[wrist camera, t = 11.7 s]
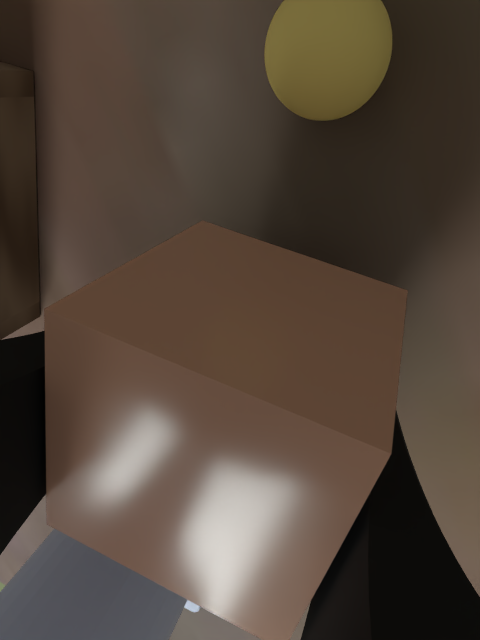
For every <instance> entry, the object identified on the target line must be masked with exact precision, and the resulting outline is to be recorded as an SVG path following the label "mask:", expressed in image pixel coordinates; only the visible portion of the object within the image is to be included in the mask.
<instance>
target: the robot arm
mask: <svg viewBox="0 0 480 640" xmlns="http://www.w3.org/2000/svg"><path fill="white" fill-rule="evenodd" d="M45 494H46V415H45V331H42V332H38V333H34V334H30V335H25V336H20V337H15V338H9V339H3V340H0V555H1V553H2V552H3V550H4V549H5V548H6V546H7V545H8V543H9V542H10V541H11V539H12V538H13V536H14V535H15V534H16V532H17V531H18V530H19V528H20V527H21V526H22V524H23V523H24V522H25V520H26V519H27V518H28V516H29V515H30V514H31V512H32V511H33V510H34V508H35V507H36V506H37V505H38V503H39V502H40V501H41V499H42V498H43V497H44V496H45ZM183 608H186V609H188V610H190V611H192V612H197V611H199V609H200V606H198V605H196V604H194V603H193V602H191V601H189V600H187V599H185V598H183V597H181V596H180V595H178V594H176V593H174V592H172V591H170V590H168V589H166V588H165V587H163V586H161V585H159V584H157V583H155V582H153V581H152V580H150V579H148V578H146V577H144V576H142V575H140V574H138V573H137V572H135V571H133V570H131V569H129V568H127V567H125V566H123V565H122V564H120V563H118V562H116V561H114V560H112V559H110V558H109V557H107V556H105V555H103V554H101V553H99V552H97V551H95V550H94V549H92V548H90V547H88V546H86V545H84V544H82V543H80V542H79V541H77V540H75V539H73V538H71V537H69V536H67V535H66V534H64V533H62V532H60V531H58V530H56V529H54V530H53V531H52V532H51V533H50V534H49V535H48V537H47V538H46V539H45V540H44V541H43V543H42V544H41V545H40V546H39V547H38V548H37V550H36V551H35V552H34V553H33V554H32V555H31V557H30V558H29V559H28V560H27V561H26V562H25V564H24V565H23V566H22V567H21V568H20V570H19V571H18V572H17V573H16V574H15V575H14V577H13V578H12V579H11V580H10V581H9V582H8V584H7V585H6V586H5V587H4V589H3V590H2V591H1V592H0V640H169V638H170V636H171V634H172V632H173V630H174V627H175V625H176V623H177V621H178V619H179V617H180V615H181V613H182V611H183ZM301 640H480V597H479V596H478V594H477V592H476V591H475V589H474V588H473V586H472V584H471V583H470V581H469V580H468V578H467V577H466V575H465V573H464V571H463V570H462V568H461V566H460V565H459V563H458V561H457V560H456V558H455V556H454V554H453V552H452V550H451V548H450V547H449V545H448V543H447V541H446V539H445V537H444V536H443V534H442V532H441V529H440V527H439V525H438V523H437V521H436V519H435V517H434V515H433V513H432V510H431V508H430V506H429V504H428V501H427V499H426V497H425V494H424V492H423V489H422V487H421V485H420V482H419V479H418V477H417V474H416V471H415V469H414V466H413V463H412V461H411V458H410V455H409V452H408V449H407V446H406V443H405V440H404V436H403V433H402V430H401V426H400V423H399V419H398V415H397V411H396V412H395V422H394V432H393V442H392V453H391V455H390V457H389V459H388V461H387V463H386V465H385V466H384V468H383V470H382V472H381V474H380V476H379V477H378V479H377V481H376V483H375V485H374V486H373V488H372V490H371V492H370V494H369V496H368V497H367V499H366V501H365V503H364V505H363V507H362V508H361V510H360V512H359V514H358V516H357V517H356V519H355V521H354V523H353V525H352V527H351V528H350V530H349V532H348V534H347V536H346V538H345V539H344V541H343V543H342V545H341V547H340V548H339V550H338V552H337V554H336V556H335V558H334V559H333V561H332V563H331V565H330V567H329V569H328V570H327V572H326V574H325V576H324V578H323V579H322V581H321V583H320V585H319V587H318V589H317V590H316V592H315V594H314V596H313V598H312V600H311V603H310V607H309V611H308V614H307V618H306V622H305V626H304V630H303V633H302V637H301Z"/></svg>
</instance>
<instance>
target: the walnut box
mask: <svg viewBox="0 0 480 640" xmlns="http://www.w3.org/2000/svg"><path fill="white" fill-rule="evenodd" d="M38 317H40V294H39V257H38V220H37V183H36V146H35V109H34V72H33V71H31V70H27V69H24V68H21V67H17V66H14V65H10V64H7V63H3V62H0V340H1V339H3V338H4V337H6V336H8V335H9V334H11V333H13V332H14V331H16V330H18V329H20V328H21V327H23V326H25V325H26V324H28V323H30V322H31V321H33V320H35V319H37V318H38Z"/></svg>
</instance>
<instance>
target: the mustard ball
mask: <svg viewBox="0 0 480 640" xmlns="http://www.w3.org/2000/svg"><path fill="white" fill-rule="evenodd" d="M391 53H392V28H391V23H390V19H389V16H388V13H387V10H386V8H385V6H384V4H383V2H382V1H381V0H284V1H283V2H282V3H281V5H280V6H279V8H278V9H277V11H276V13H275V15H274V17H273V19H272V21H271V23H270V26H269V29H268V33H267V36H266V42H265V53H264V58H265V68H266V73H267V77H268V80H269V83H270V85H271V87H272V89H273V91H274V93H275V95H276V96H277V97H278V99H279V100H280V101H281V102H282V103H283V104H284V105H285V106H286V107H287V108H288V109H289V110H291V111H292V112H293V113H295V114H297V115H299V116H301V117H303V118H306V119H310V120H317V121H328V120H334V119H339V118H342V117H344V116H347V115H349V114H351V113H352V112H354V111H356V110H357V109H359V108H360V107H361V106H363V105H364V104H365V103H366V102H367V101H368V100H369V99H370V98H371V97H372V95H373V94H374V93H375V92H376V90H377V89H378V87H379V86H380V84H381V82H382V81H383V79H384V77H385V74H386V72H387V69H388V66H389V63H390V59H391Z"/></svg>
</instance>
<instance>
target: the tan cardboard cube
mask: <svg viewBox="0 0 480 640" xmlns="http://www.w3.org/2000/svg"><path fill="white" fill-rule="evenodd" d="M407 292H408V290H405V289H402V288H399V287H396V286H393V285H390V284H387V283H384V282H381V281H378V280H375V279H373V278H370V277H367V276H364V275H361V274H358V273H355V272H352V271H349V270H346V269H343V268H340V267H337V266H334V265H331V264H329V263H326V262H323V261H320V260H317V259H314V258H311V257H308V256H305V255H302V254H299V253H296V252H293V251H290V250H287V249H284V248H282V247H279V246H276V245H273V244H270V243H267V242H264V241H261V240H258V239H255V238H252V237H249V236H246V235H243V234H240V233H238V232H235V231H232V230H229V229H226V228H223V227H220V226H217V225H214V224H211V223H208V222H205V221H200V222H199V223H197V224H195V225H193V226H192V227H190V228H188V229H186V230H184V231H183V232H181V233H179V234H177V235H175V236H174V237H172V238H170V239H168V240H167V241H165V242H163V243H161V244H159V245H158V246H156V247H154V248H152V249H150V250H149V251H147V252H145V253H143V254H141V255H140V256H138V257H136V258H134V259H133V260H131V261H129V262H127V263H125V264H124V265H122V266H120V267H118V268H116V269H115V270H113V271H111V272H109V273H108V274H106V275H104V276H102V277H100V278H99V279H97V280H95V281H93V282H91V283H90V284H88V285H86V286H84V287H82V288H81V289H79V290H77V291H75V292H74V293H72V294H70V295H68V296H66V297H65V298H63V299H61V300H59V301H57V302H56V303H54V304H52V305H50V306H48V307H47V308H45V309H44V319H45V415H46V511H47V525H49V526H51V527H52V528H54V529H56V530H58V531H60V532H62V533H64V534H66V535H67V536H69V537H71V538H73V539H75V540H77V541H79V542H80V543H82V544H84V545H86V546H88V547H90V548H92V549H94V550H95V551H97V552H99V553H101V554H103V555H105V556H107V557H109V558H110V559H112V560H114V561H116V562H118V563H120V564H122V565H123V566H125V567H127V568H129V569H131V570H133V571H135V572H137V573H138V574H140V575H142V576H144V577H146V578H148V579H150V580H152V581H153V582H155V583H157V584H159V585H161V586H163V587H165V588H166V589H168V590H170V591H172V592H174V593H176V594H178V595H180V596H181V597H183V598H185V599H187V600H189V601H191V602H193V603H194V604H196V605H198V606H200V607H202V608H204V609H206V610H208V611H209V612H211V613H213V614H215V615H217V616H219V617H221V618H223V619H224V620H226V621H228V622H230V623H232V624H234V625H236V626H237V627H239V628H241V629H243V630H245V631H247V632H249V633H251V634H252V635H254V636H256V637H258V638H260V639H262V640H290V638H291V636H292V634H293V632H294V631H295V629H296V627H297V625H298V623H299V621H300V620H301V618H302V616H303V614H304V612H305V610H306V609H307V607H308V605H309V603H310V601H311V600H312V598H313V596H314V594H315V592H316V590H317V589H318V587H319V585H320V583H321V581H322V579H323V578H324V576H325V574H326V572H327V570H328V569H329V567H330V565H331V563H332V561H333V559H334V558H335V556H336V554H337V552H338V550H339V548H340V547H341V545H342V543H343V541H344V539H345V538H346V536H347V534H348V532H349V530H350V528H351V527H352V525H353V523H354V521H355V519H356V517H357V516H358V514H359V512H360V510H361V508H362V507H363V505H364V503H365V501H366V499H367V497H368V496H369V494H370V492H371V490H372V488H373V486H374V485H375V483H376V481H377V479H378V477H379V476H380V474H381V472H382V470H383V468H384V466H385V465H386V463H387V461H388V459H389V457H390V455H391V453H392V442H393V432H394V422H395V412H396V402H397V392H398V382H399V372H400V362H401V352H402V342H403V332H404V322H405V312H406V302H407Z"/></svg>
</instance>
